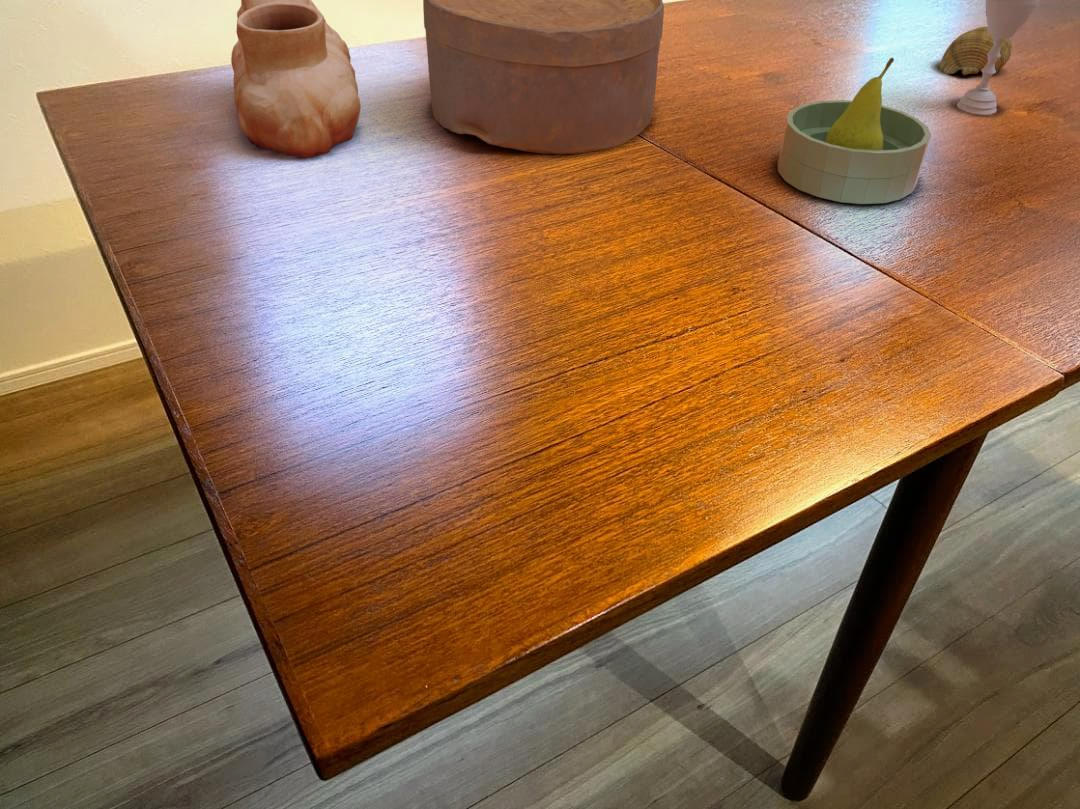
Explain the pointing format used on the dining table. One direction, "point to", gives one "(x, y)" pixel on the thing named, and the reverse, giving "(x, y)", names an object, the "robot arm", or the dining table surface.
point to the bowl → (851, 156)
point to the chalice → (996, 49)
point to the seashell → (973, 52)
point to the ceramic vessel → (292, 79)
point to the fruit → (861, 119)
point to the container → (544, 70)
